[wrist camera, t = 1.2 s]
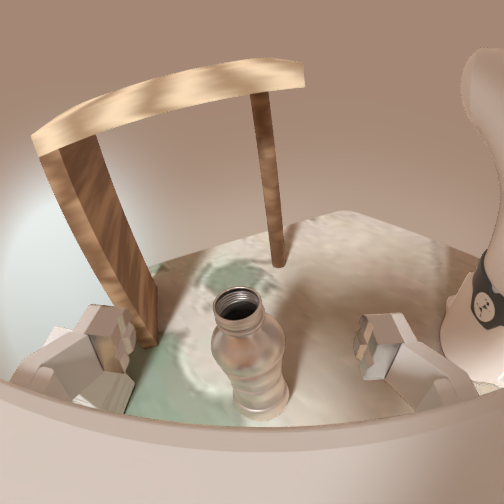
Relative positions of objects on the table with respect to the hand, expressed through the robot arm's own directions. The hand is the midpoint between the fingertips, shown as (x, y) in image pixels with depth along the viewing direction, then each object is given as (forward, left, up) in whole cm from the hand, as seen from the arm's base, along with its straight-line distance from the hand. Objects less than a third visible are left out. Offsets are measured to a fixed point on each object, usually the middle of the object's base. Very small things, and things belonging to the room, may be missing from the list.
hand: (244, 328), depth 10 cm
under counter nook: (+3, -29, -29) cm, 41 cm away
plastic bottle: (0, -9, -29) cm, 31 cm away
